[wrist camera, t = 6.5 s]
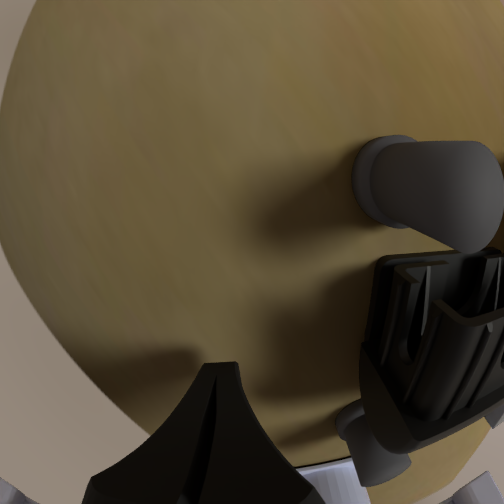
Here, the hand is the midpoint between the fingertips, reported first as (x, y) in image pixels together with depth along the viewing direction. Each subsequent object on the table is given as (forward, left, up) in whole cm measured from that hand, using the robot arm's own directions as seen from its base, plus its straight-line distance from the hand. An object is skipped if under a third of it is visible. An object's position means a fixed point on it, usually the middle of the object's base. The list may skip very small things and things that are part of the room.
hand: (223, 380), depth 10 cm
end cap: (0, -11, -2) cm, 11 cm away
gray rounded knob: (+7, -8, -2) cm, 11 cm away
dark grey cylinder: (-7, -8, -2) cm, 10 cm away
